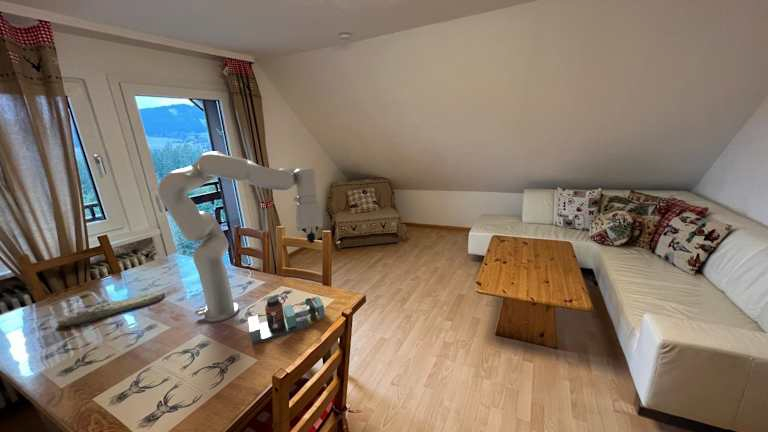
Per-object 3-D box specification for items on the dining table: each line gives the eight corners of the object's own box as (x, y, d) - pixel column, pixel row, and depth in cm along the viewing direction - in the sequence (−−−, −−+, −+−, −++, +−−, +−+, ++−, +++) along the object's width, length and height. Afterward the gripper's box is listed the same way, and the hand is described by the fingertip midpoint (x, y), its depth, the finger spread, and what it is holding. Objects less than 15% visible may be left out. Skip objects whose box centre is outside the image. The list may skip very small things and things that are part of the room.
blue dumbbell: (288, 329, 109) (286, 317, 108) (285, 318, 116) (283, 306, 115) (325, 318, 115) (324, 306, 114) (320, 307, 122) (318, 296, 120)
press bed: (252, 345, 103) (249, 328, 101) (250, 329, 112) (247, 313, 110) (317, 325, 113) (315, 309, 111) (311, 311, 122) (309, 296, 120)
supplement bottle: (279, 331, 108) (275, 304, 105) (265, 330, 109) (260, 303, 106) (288, 321, 114) (284, 295, 110) (273, 320, 115) (269, 294, 112)
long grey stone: (165, 304, 135) (166, 296, 143) (163, 293, 134) (164, 286, 142) (55, 332, 115) (63, 320, 123) (51, 319, 114) (59, 309, 122)
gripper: (289, 203, 113) (294, 248, 118) (328, 198, 119) (331, 241, 124) (286, 199, 119) (291, 242, 124) (323, 195, 125) (326, 236, 130)
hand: (311, 241), depth 124 cm, fingers closed
